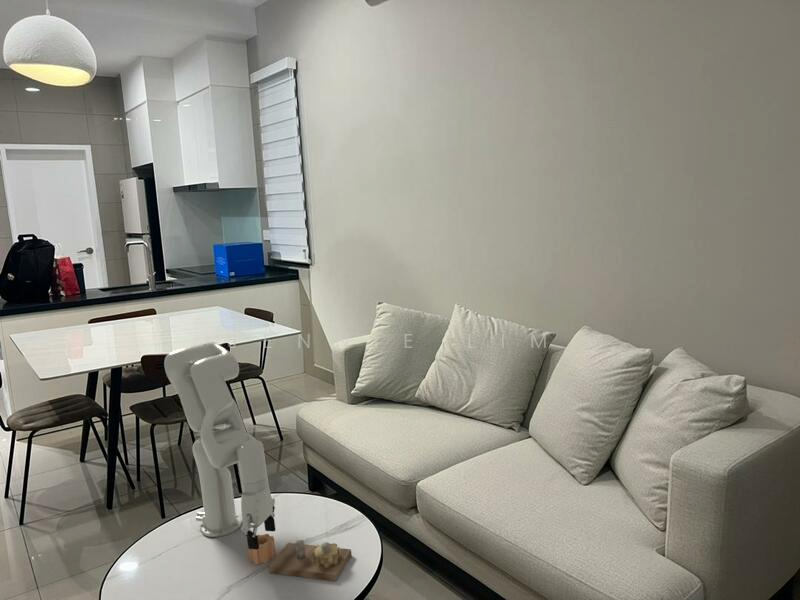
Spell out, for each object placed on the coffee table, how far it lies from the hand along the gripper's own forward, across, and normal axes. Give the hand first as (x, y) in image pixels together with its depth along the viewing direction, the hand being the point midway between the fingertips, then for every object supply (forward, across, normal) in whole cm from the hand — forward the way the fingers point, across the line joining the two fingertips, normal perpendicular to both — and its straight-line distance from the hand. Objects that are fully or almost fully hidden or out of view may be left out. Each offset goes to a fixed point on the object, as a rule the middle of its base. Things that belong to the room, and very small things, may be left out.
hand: (262, 539), depth 177 cm
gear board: (+6, 0, +15) cm, 16 cm away
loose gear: (+6, -1, -1) cm, 6 cm away
